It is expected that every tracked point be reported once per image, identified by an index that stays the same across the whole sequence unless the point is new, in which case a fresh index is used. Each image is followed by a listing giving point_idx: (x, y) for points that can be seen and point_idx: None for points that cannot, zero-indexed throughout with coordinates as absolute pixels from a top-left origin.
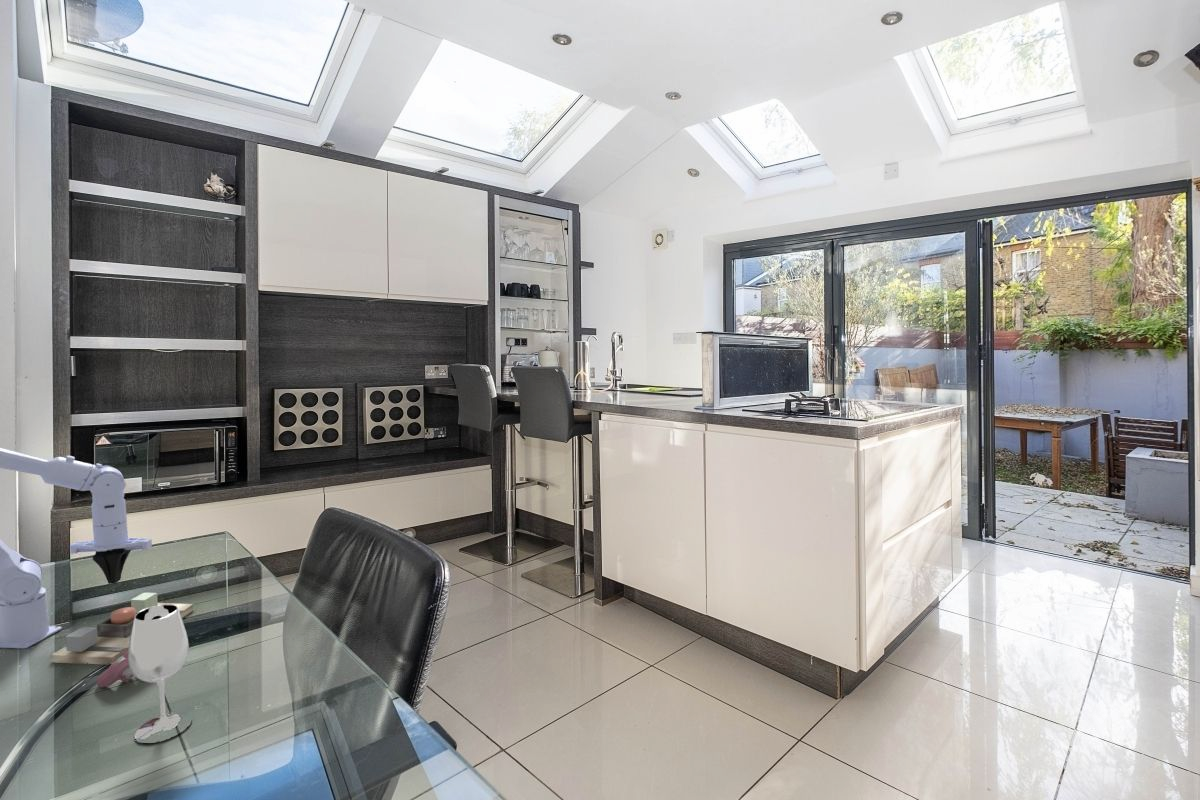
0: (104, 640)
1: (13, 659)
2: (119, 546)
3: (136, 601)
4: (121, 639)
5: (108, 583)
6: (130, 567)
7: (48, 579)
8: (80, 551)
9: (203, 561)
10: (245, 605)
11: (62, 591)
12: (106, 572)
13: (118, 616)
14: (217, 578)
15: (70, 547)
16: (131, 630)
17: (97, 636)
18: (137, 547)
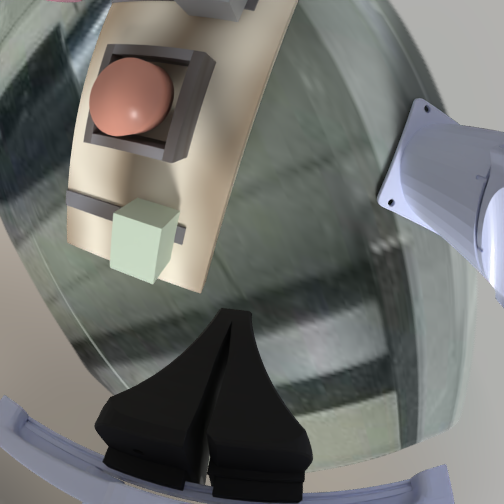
0: (183, 37)
1: (412, 49)
2: (66, 478)
3: (143, 218)
4: (137, 41)
5: (251, 313)
6: (319, 442)
7: (425, 417)
8: (398, 485)
9: None
10: (14, 234)
11: (408, 389)
12: (241, 350)
13: (121, 59)
14: (130, 376)
15: (452, 499)
16: None
17: (182, 7)
18: (46, 438)
